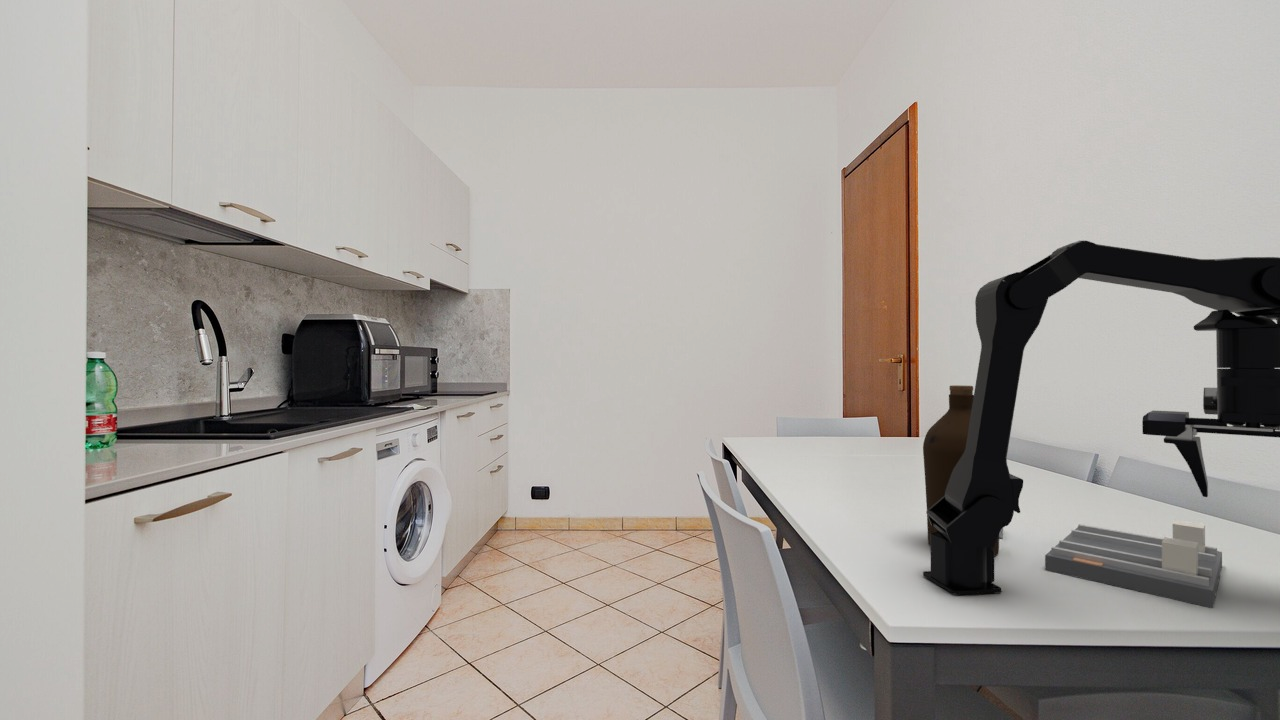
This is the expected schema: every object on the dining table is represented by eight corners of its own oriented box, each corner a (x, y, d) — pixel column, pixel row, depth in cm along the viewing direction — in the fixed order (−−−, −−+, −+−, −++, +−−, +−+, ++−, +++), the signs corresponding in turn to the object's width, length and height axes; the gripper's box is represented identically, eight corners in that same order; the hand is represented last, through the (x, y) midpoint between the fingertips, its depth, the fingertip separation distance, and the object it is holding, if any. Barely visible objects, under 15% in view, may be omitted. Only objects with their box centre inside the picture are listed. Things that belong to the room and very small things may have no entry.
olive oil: (988, 566, 77) (986, 387, 78) (911, 546, 85) (910, 385, 86) (1014, 549, 84) (1012, 385, 84) (940, 533, 92) (939, 384, 92)
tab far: (1203, 556, 74) (1203, 528, 75) (1172, 550, 77) (1172, 523, 77) (1205, 551, 76) (1204, 524, 77) (1175, 545, 79) (1174, 519, 79)
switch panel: (1212, 608, 64) (1212, 583, 64) (1045, 569, 76) (1045, 549, 76) (1222, 566, 77) (1221, 546, 77) (1078, 539, 89) (1078, 521, 89)
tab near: (1196, 578, 67) (1195, 548, 67) (1162, 571, 69) (1161, 542, 69) (1198, 572, 69) (1197, 542, 69) (1164, 566, 71) (1164, 537, 71)
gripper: (1375, 368, 63) (1377, 505, 63) (1152, 368, 77) (1153, 480, 77) (1390, 369, 55) (1393, 524, 55) (1141, 368, 69) (1142, 493, 69)
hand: (1254, 502), depth 64 cm, fingers open, 8 cm apart
